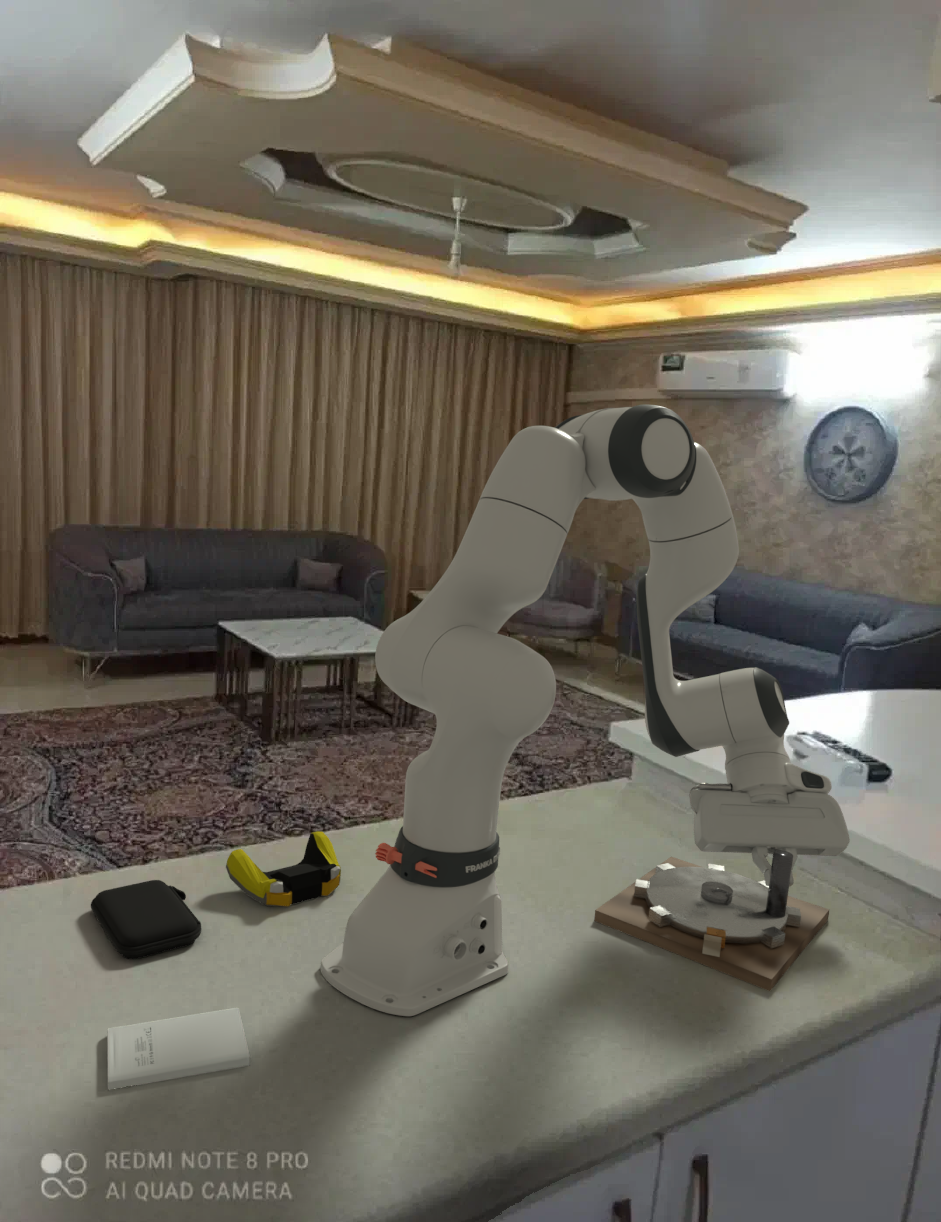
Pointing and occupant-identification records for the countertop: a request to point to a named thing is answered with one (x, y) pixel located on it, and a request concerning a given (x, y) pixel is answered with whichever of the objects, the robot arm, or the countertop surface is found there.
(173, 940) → the carrying case or bag
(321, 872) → the gaming controller
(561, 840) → the countertop surface
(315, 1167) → the countertop surface
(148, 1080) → the external hard drive
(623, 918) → the sprocket base
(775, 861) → the sprocket
